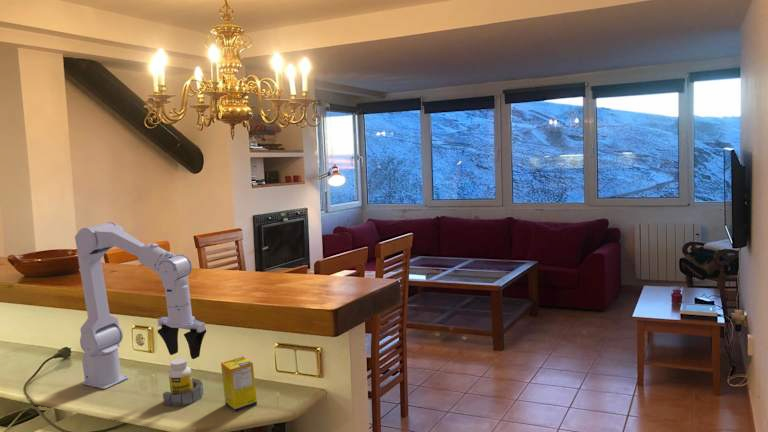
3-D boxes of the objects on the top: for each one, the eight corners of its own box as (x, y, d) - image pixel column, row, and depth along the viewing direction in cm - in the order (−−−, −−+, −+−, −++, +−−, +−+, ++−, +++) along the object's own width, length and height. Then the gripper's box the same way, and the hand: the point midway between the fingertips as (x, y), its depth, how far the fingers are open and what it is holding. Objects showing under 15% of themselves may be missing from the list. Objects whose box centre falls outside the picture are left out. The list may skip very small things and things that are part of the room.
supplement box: (247, 397, 157) (243, 355, 156) (257, 404, 153) (253, 362, 151) (224, 404, 154) (220, 362, 152) (234, 412, 149) (230, 369, 148)
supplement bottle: (170, 404, 156) (166, 366, 154) (172, 395, 161) (167, 358, 160) (193, 400, 157) (189, 363, 156) (194, 391, 163) (190, 355, 161)
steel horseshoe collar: (164, 404, 156) (162, 393, 155) (193, 389, 164) (192, 378, 164) (182, 409, 153) (180, 397, 152) (211, 392, 161) (210, 381, 161)
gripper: (211, 302, 157) (217, 353, 159) (170, 297, 164) (176, 346, 166) (190, 310, 151) (196, 363, 153) (149, 304, 158) (155, 356, 160)
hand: (184, 355), depth 159 cm, fingers open, 7 cm apart
